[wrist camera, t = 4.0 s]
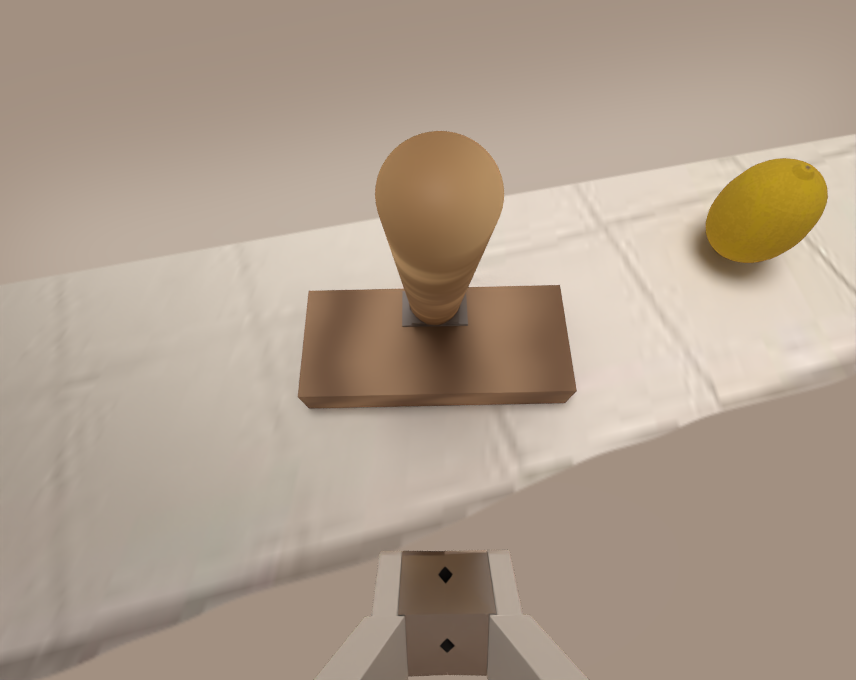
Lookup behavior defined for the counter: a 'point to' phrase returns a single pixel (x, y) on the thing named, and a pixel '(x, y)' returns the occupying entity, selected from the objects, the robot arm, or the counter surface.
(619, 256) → the counter surface
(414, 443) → the counter surface
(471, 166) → the tan wooden peg
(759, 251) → the lemon
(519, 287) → the brown wooden block
